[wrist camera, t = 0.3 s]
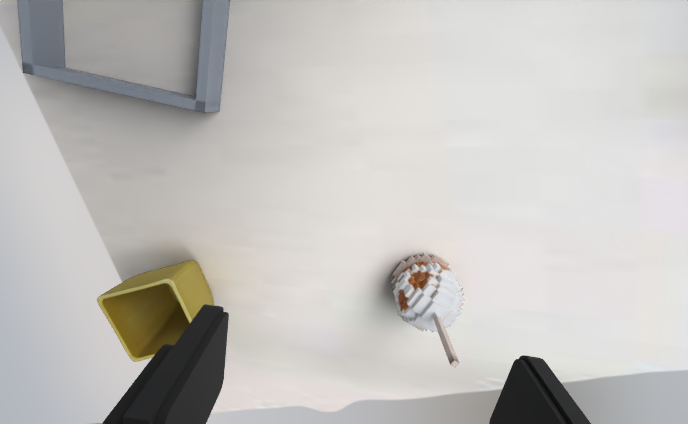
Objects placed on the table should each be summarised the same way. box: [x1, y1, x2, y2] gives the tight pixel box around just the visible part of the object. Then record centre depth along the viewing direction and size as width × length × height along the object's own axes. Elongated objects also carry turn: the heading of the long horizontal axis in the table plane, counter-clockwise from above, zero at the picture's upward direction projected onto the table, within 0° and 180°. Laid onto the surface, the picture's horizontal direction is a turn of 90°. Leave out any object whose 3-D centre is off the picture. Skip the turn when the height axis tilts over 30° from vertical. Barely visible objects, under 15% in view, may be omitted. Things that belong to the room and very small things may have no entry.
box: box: [17, 0, 230, 113], centre depth 33 cm, size 16×18×4 cm
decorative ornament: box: [391, 253, 464, 367], centre depth 37 cm, size 8×8×15 cm
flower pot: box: [97, 261, 214, 362], centre depth 41 cm, size 9×9×9 cm
